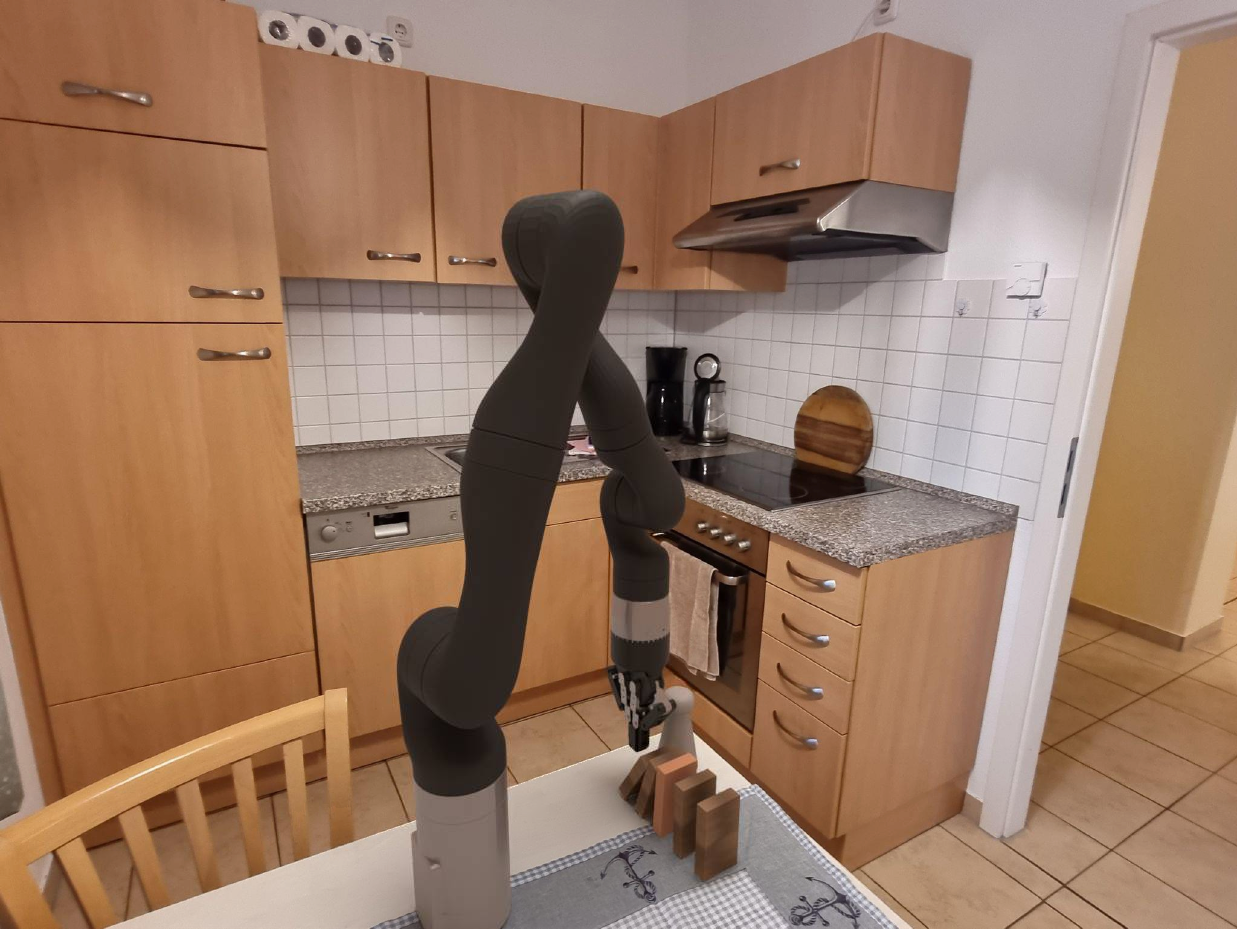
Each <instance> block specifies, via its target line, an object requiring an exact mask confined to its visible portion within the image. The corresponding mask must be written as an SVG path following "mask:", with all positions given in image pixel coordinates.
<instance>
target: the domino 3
mask: <svg viewBox="0 0 1237 929" xmlns="http://www.w3.org/2000/svg"><path fill="white" fill-rule="evenodd" d="M698 760H699V759H698V758H697V759H696V758H695V757H694V756H693V755H691V754H690V753H687V754H685V755H683V756H680V757H678V758H676V759H673V760H671V761H669V762H666V763H664V764H662V765H660V766H657V772H656V787H655V802H654V813H653V817H652V818H653V822H652V830H653V831H654V832H655V833H656V834H657V835H658V837H659V838H663V837H664V835H665V836H666V835H668V833H669V834H671V833H673V827H674V790H675V783H677V782H679V781H681V780H684V779H686V778H688V777H690V776H692V775H695V774H697V773H698V771H697V770H698V768H697V762H698V763H699V761H698ZM662 836H663V837H662Z"/></svg>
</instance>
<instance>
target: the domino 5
mask: <svg viewBox="0 0 1237 929" xmlns="http://www.w3.org/2000/svg"><path fill="white" fill-rule="evenodd" d="M740 808H741V794H740V793H738V792H737V791H736V790H735V789H733V787H731V786H730V787H728V788H726V789H724V790H723V791H720V792H718V793H716V795H714V796H712V797H710V798H708V799H705V800H703V801H701V802H699V803H697V818H696V846H695V852H694V853H695V854H694V874H695V875H696V876H697V877H698V878H699V879H700V880H701V881H702V882H703V883H705V882H707V881H709V880H710V879H712V878H714V877H715V876H717V875H719V874H721V873H723V872H724V871H726V870H727V869H731V867H733V866H734V865H737V864H738V852H739V850H738V848H739V847H738V846H739V829H740V828H739V827H740V811H741V810H740Z"/></svg>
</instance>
